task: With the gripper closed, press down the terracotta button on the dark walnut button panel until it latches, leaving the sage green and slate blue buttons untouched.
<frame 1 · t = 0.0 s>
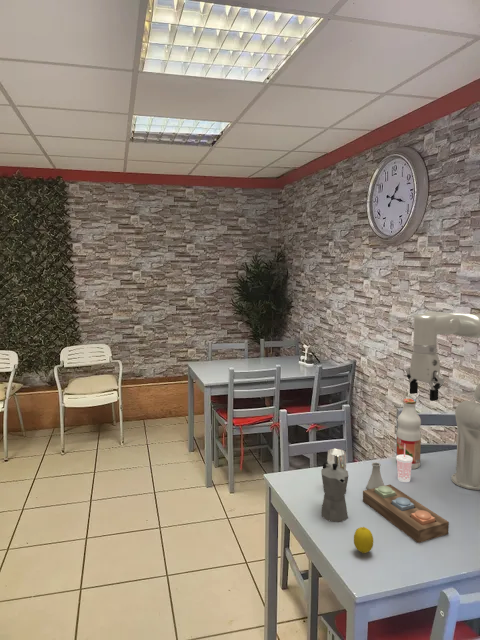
hand: (423, 396, 162), 37 cm above the table, tool pointing down, fingers open, 9 cm apart
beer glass: (336, 491, 171), on the table
button panel: (402, 516, 152), on the table
lemon: (363, 553, 133), on the table
slate blue button: (402, 505, 152), point 4 cm above the table, slide at 0.0 cm
beverage cup: (403, 480, 178), on the table
coffeepot: (333, 513, 155), on the table
terracotta button: (422, 518, 143), point 4 cm above the table, slide at 0.0 cm
fruit juice: (408, 465, 192), on the table
sage green button: (385, 493, 160), point 4 cm above the table, slide at 0.0 cm
flask: (375, 489, 171), on the table
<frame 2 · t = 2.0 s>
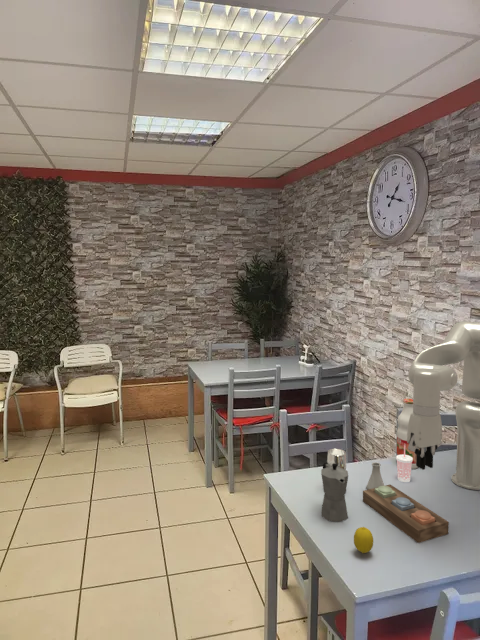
hand: (424, 466, 141), 21 cm above the table, tool pointing down, fingers closed
nothing on the table moved.
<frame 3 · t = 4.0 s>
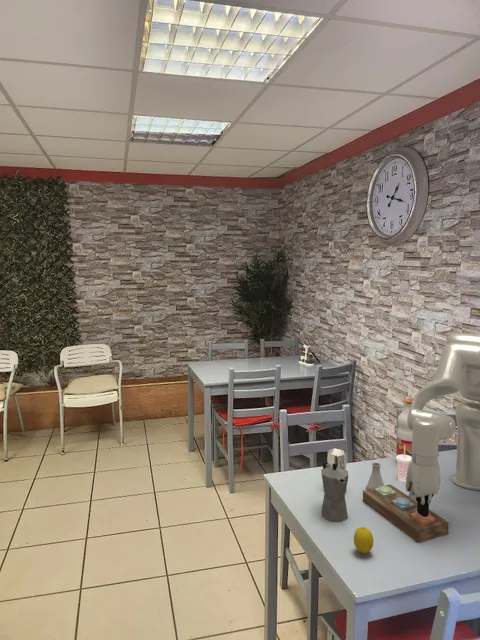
hand: (422, 514, 143), 6 cm above the table, tool pointing down, fingers closed
terracotta button: (422, 518, 143), point 4 cm above the table, slide at 0.0 cm, touching gripper
everything else where it was.
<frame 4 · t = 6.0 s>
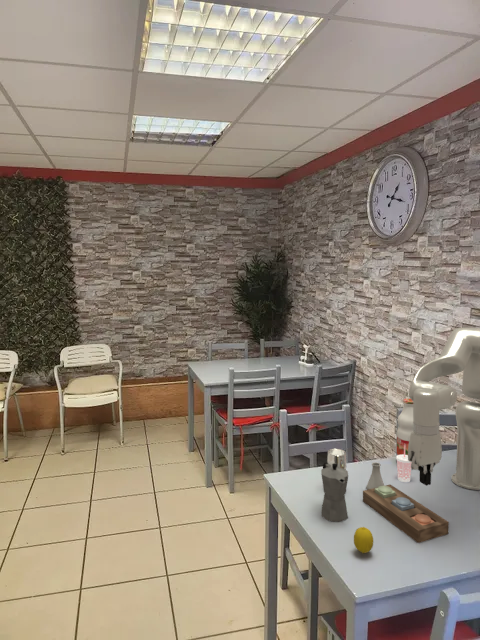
hand: (425, 483, 145), 14 cm above the table, tool pointing down, fingers closed
terracotta button: (422, 522, 143), point 3 cm above the table, slide at 1.3 cm
everything else where it was.
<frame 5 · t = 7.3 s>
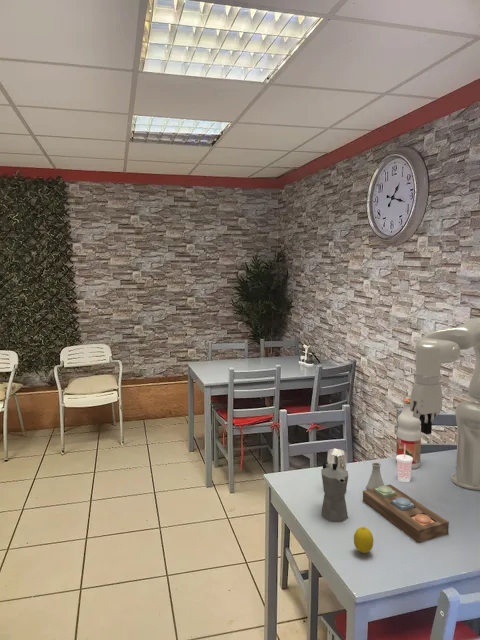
hand: (426, 432, 154), 27 cm above the table, tool pointing down, fingers closed
nothing on the table moved.
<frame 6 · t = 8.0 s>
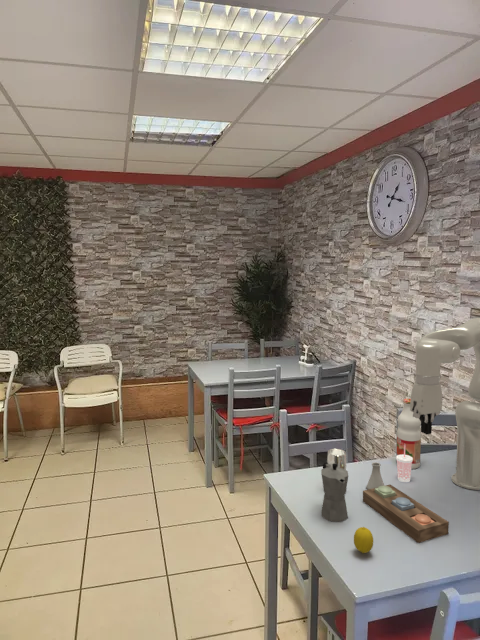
hand: (426, 432, 154), 27 cm above the table, tool pointing down, fingers closed
nothing on the table moved.
at the end: terracotta button slide at 1.3 cm; sage green button slide at 0.0 cm; slate blue button slide at 0.0 cm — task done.
